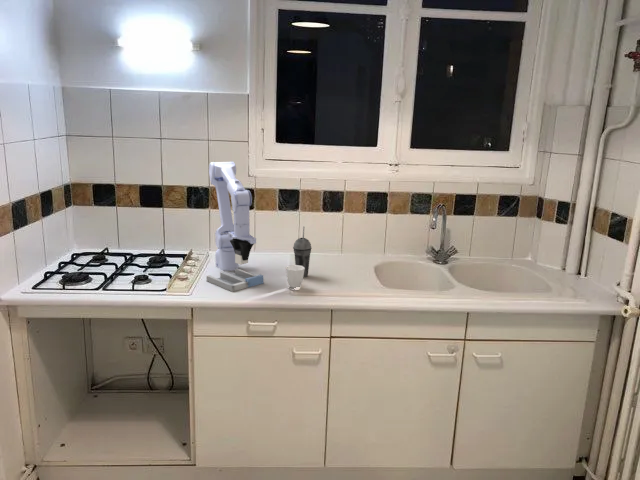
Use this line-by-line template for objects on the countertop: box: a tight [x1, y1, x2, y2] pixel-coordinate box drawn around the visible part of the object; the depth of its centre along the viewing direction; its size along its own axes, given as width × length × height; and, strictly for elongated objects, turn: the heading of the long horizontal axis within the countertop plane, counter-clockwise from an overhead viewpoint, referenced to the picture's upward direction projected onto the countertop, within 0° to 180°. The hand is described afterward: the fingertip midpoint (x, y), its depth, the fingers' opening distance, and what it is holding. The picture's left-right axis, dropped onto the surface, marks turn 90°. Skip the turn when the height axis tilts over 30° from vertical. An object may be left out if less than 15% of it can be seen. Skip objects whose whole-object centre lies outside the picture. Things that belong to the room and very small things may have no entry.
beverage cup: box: [292, 226, 312, 278], centre depth 209 cm, size 7×7×20 cm
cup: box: [285, 264, 305, 291], centre depth 198 cm, size 7×10×8 cm
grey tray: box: [205, 267, 265, 293], centre depth 199 cm, size 16×15×4 cm
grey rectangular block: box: [235, 249, 249, 265], centre depth 199 cm, size 3×3×5 cm
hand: (242, 258), depth 200 cm, fingers closed on grey rectangular block, 3 cm apart
